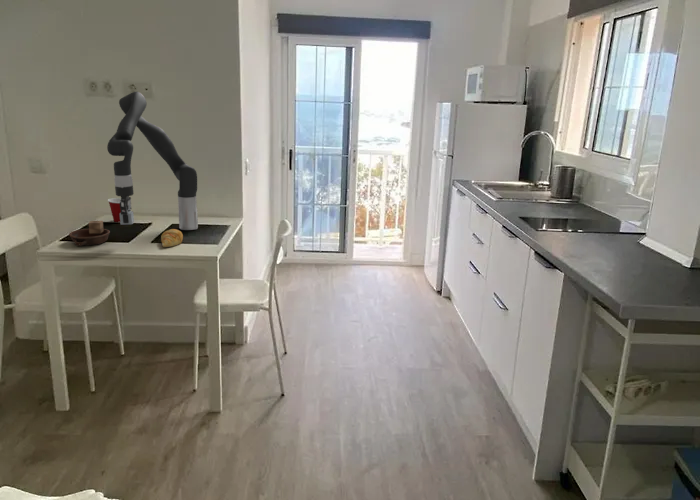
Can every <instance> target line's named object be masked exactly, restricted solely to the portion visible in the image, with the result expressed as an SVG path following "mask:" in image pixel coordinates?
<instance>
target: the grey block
mask: <svg viewBox="0 0 700 500" xmlns="http://www.w3.org/2000/svg"><path fill="white" fill-rule="evenodd" d="M123 212H125V211H123ZM128 220H129V222H128V223H123V215H121V213H120V222H119V223H120V226H121V225H133V224H134V223H135V217H134V211H132V210H131V211H128Z"/></svg>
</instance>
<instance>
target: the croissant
mask: <svg viewBox="0 0 700 500" xmlns="http://www.w3.org/2000/svg"><path fill="white" fill-rule="evenodd" d="M183 238H184V235H183V232H182V231H181V230H179V229H177V228H171V229H167V230H165V231H163V233H162V234H161V236H160V242H161V244H162V247H163V248H168V247H169V248H170V247H174V246H179V245H181V244H182V243H183Z"/></svg>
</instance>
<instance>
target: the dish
mask: <svg viewBox="0 0 700 500" xmlns="http://www.w3.org/2000/svg"><path fill="white" fill-rule="evenodd" d="M103 229H104V231H103V232H102V233H89V228H82V229H75V230H73V231H70V232H69V233H68V236H69V237H70V238H71V241H72V242H73V243H74V245H75V246H76V247H81V246H96V245H100V244H103V243H105V242H107V241H108V238H109V235H110V233H111V231H110V230H109V229H107V228H103Z"/></svg>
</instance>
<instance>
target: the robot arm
mask: <svg viewBox="0 0 700 500" xmlns="http://www.w3.org/2000/svg"><path fill="white" fill-rule="evenodd" d="M118 104H119V105H118V106H119V107H120V110H121V111H122V112H123V113H124V116H123V118H122V119H121V120H120V121H119V124H118V125H117V129H116V132H115V133H114V134H113V135H112V136H111V138H110V139H109V141H107V147H106V148H107V152H108V154H109V155H111V156H114V157H115V156H116V157H123V159H122V160H118V161H114V163H113V173H114V189H115V191H114V192H115V195H116V196H117V197H119V198H121V200H120V203H119V204H120V210H121V215H123V223H128V222H129V220H128V211H132V197H131V196H133V195H134V183H133V182H134V181H133V176H132V167H131V166H132V165H131V164H132V157H133V153H134V144H133V142H132V140H133V137H134V134H135V129H136V128H138V130H139V131H140V132H141V134H142V135H143V136H144V137H145V138H146V140H147V141H148V143H149V144H150V145H151V146H152V148H153V149H154V150H155V152H156V153H158V155H159V156H160V157H161V158H162V159H163V160H164V161H165V162H166V164H167V165H168V167H169V168H170V169H171V171H172V173H173V174H174V176H175V178H176V179H177V180H178V182H179V184H178V185H179V188H178V191H177V201H178V202H177V207H178V208H177V209H178V226H179V229H180V231H181V230H182V231H193V230H198V228H199V224H198V223H199V222H198V220H199V219H198V207H197V206H198V205H197V191H198V173H197V170H196V169H195V168H194V167H192V166H190V165H188V164H187V163H186V162H185V161H184V160H183V158H182V157H181V156H180V155H179V154H178V151H177V149H176V146H175V144H174V143H173V141H172V139H171V138H170V136H169V135H168V134H167V133H166V131H165V130H164V129H163V128H161V127H160V126H158V125H155V124H154V123H152V122H149V121H148V120H146V119H145V117H143V116H142V115H143V113H144V111H145V110H146V108H147V99H146V97H145V96H144V95H143V94H142V92H139V91H133V92H130V93H128V94H127V95H125V96H123V97H122V98H120V99H119V101H118ZM124 210H125V212H123V211H124ZM179 229H178V230H179Z"/></svg>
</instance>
